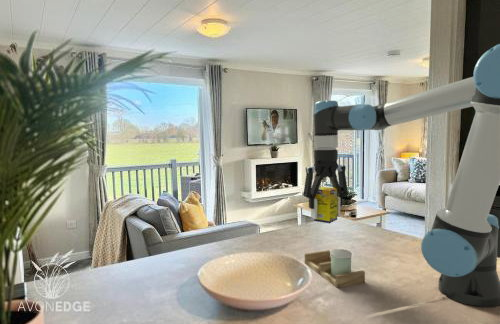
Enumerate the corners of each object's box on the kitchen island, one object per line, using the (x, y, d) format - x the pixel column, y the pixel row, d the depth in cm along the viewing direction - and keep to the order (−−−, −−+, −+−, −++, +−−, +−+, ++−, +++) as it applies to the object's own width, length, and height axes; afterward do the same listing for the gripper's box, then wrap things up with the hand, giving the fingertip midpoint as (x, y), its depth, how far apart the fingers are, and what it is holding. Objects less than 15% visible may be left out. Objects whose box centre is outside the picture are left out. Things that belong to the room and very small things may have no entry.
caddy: (364, 284, 100) (364, 271, 100) (337, 289, 97) (337, 276, 97) (328, 261, 119) (328, 250, 119) (304, 264, 116) (304, 253, 116)
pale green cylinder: (355, 280, 101) (355, 254, 101) (338, 283, 99) (337, 257, 99) (343, 272, 107) (343, 248, 107) (326, 275, 105) (326, 250, 105)
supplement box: (330, 224, 108) (330, 190, 107) (313, 221, 111) (313, 188, 110) (337, 219, 112) (337, 187, 111) (321, 217, 116) (321, 186, 115)
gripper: (346, 147, 116) (346, 211, 118) (292, 149, 110) (292, 217, 112) (360, 148, 109) (359, 216, 111) (302, 150, 103) (302, 222, 105)
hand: (325, 216), depth 111 cm, fingers closed on supplement box, 8 cm apart
